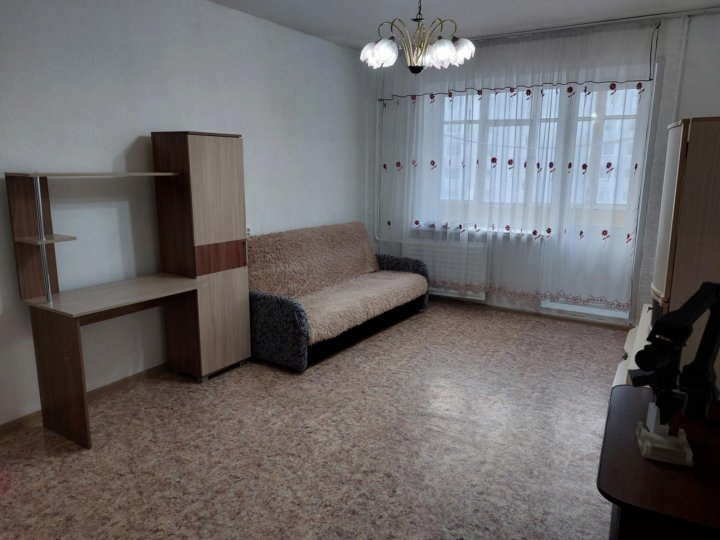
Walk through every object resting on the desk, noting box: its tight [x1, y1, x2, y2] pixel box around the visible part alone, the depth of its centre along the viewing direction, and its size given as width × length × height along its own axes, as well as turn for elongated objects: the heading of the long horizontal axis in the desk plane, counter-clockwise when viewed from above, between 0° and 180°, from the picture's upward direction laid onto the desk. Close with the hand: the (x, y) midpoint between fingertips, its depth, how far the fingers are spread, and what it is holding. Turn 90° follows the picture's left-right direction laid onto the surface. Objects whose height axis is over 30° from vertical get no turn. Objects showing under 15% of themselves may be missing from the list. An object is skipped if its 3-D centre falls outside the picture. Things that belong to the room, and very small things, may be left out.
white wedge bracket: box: [645, 401, 670, 435], centre depth 138 cm, size 4×10×9 cm, turn 167°
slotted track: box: [635, 421, 695, 468], centre depth 130 cm, size 12×11×4 cm
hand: (659, 416), depth 138 cm, fingers open, 9 cm apart
